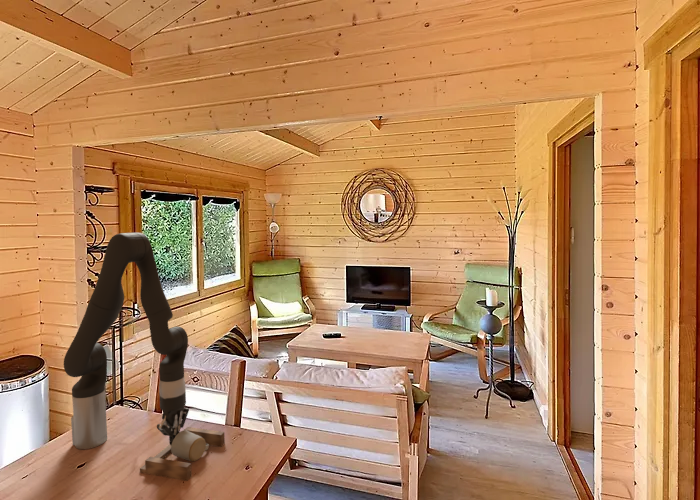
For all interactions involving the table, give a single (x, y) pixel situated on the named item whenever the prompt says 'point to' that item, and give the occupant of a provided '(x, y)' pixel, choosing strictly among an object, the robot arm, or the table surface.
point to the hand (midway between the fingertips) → (174, 444)
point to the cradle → (177, 468)
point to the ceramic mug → (188, 446)
